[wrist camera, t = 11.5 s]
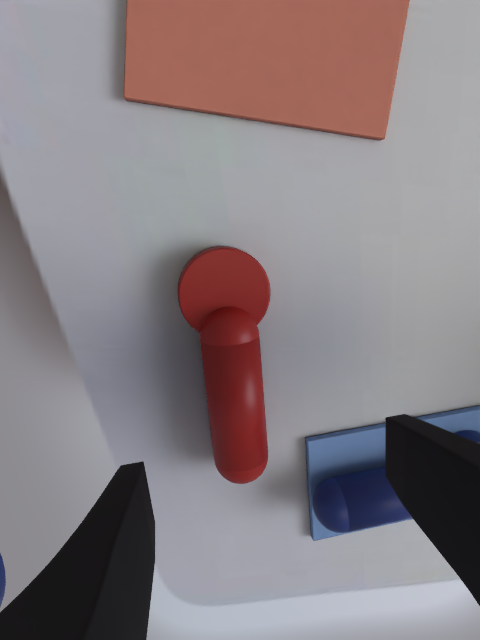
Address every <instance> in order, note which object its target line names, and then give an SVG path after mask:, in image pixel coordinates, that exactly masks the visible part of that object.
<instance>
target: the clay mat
mask: <svg viewBox="0 0 480 640" xmlns="http://www.w3.org/2000/svg"><path fill="white" fill-rule="evenodd" d="M408 6H409V0H127V7H126V41H125V74H124V98H125V100H127V101H133V102H140V103H146V104H152V105H159V106H165V107H171V108H178V109H184V110H191V111H197V112H203V113H210V114H216V115H222V116H229V117H235V118H241V119H248V120H254V121H261V122H267V123H273V124H280V125H286V126H292V127H299V128H305V129H311V130H318V131H324V132H330V133H337V134H343V135H350V136H356V137H362V138H369V139H375V140H383V139H385V136H386V130H387V125H388V119H389V113H390V108H391V102H392V96H393V91H394V85H395V79H396V74H397V68H398V62H399V57H400V51H401V45H402V40H403V34H404V29H405V23H406V17H407V12H408Z"/></svg>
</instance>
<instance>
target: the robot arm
mask: <svg viewBox="0 0 480 640" xmlns="http://www.w3.org/2000/svg"><path fill="white" fill-rule="evenodd" d="M385 476H386V478H387V479H388V481H389V483H390V485H391V486H392V488H393V490H394V492H395V493H396V495H397V496H398V498H399V500H400V501H401V503H402V504H403V506H404V507H405V509H406V510H407V511H408V513H409V514H410V515H411V516H412V518H413V519H414V520H415V522H416V523H417V524H418V525H419V527H420V528H421V529H422V531H423V532H424V533H425V534H426V536H427V537H428V538H429V539H430V541H431V542H432V543H433V544H434V546H435V547H436V548H437V549H438V551H439V552H440V553H441V554H442V556H443V557H444V558H445V559H446V561H447V562H448V563H449V564H450V566H451V567H452V568H453V570H454V571H455V572H456V573H457V575H458V576H459V577H460V579H461V580H462V581H463V582H464V584H465V585H466V587H467V588H468V589H469V591H470V592H471V593H472V595H473V597H474V598H475V600H476V601H477V603H478V604H479V605H480V443H477V442H474V441H472V440H469V439H467V438H464V437H462V436H460V435H457V434H455V433H452V432H450V431H447V430H445V429H442V428H440V427H438V426H435V425H433V424H430V423H428V422H425V421H423V420H420V419H417V418H415V417H412V416H409V415H405V414H403V415H397V416H392V417H386V432H385ZM154 564H155V520H154V515H153V509H152V504H151V499H150V493H149V488H148V483H147V478H146V472H145V467H144V462H138V463H132V464H127V465H121V466H120V468H119V469H118V470H117V472H116V473H115V475H114V476H113V478H112V479H111V481H110V482H109V484H108V485H107V487H106V488H105V490H104V491H103V493H102V494H101V496H100V498H99V499H98V500H97V502H96V503H95V505H94V506H93V507H92V509H91V510H90V512H89V513H88V514H87V516H86V517H85V519H84V520H83V521H82V523H81V524H80V525H79V527H78V528H77V529H76V531H75V532H74V533H73V534H72V536H71V537H70V538H69V539H68V541H67V542H66V543H65V544H64V546H63V547H62V548H61V550H60V551H59V552H58V553H57V554H56V556H55V557H54V558H53V559H52V560H51V561H50V563H49V564H48V565H47V566H46V567H45V568H44V569H43V570H42V571H41V573H40V574H39V575H38V576H37V577H36V578H35V579H34V580H33V581H32V582H31V583H30V584H29V586H27V587H26V588H25V589H24V590H23V591H22V592H21V593H20V594H19V595H18V596H17V597H16V598H15V599H14V600H13V601H12V602H11V603H10V604H9V605H8V606H7V607H6V608H4V609H3V610H2V611H1V612H0V640H146V636H147V627H148V618H149V609H150V600H151V592H152V582H153V573H154Z"/></svg>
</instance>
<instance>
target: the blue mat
mask: <svg viewBox="0 0 480 640" xmlns="http://www.w3.org/2000/svg"><path fill="white" fill-rule="evenodd" d="M415 418H417V419H420V420H423V421H425V422H428V423H430V424H433V425H435V426H438V427H440V428H442V429H445V430H447V431H450V432H452V433H456V432H459V431H464V430H471V431H476V432H479V433H480V406H475V407H470V408H464V409H459V410H453V411H448V412H443V413H437V414H432V415H426V416H421V417H415ZM385 432H386V423H383V424H378V425H372V426H367V427H361V428H356V429H350V430H345V431H340V432H334V433H329V434H323V435H318V436H312V437H307V438H306V456H307V473H308V490H309V507H310V524H311V537H312V539H313V541H315V540H320V539H324V538H329V537H333V536H338V535H342V534H347V533H351V532H347V533H336V532H333V531H330V530H328V529H327V528H325V527H324V526H323V525H322V524H321V523H320V522H319V520H318V519H317V518H316V515H315V513H314V510H313V502H312V500H313V494H314V492H315V489H316V488H317V486H318V485H319V484H320V483H321V482H322V481H324V480H325V479H328V478H331V477H336V476H341V475H346V474H351V473H356V472H361V471H366V470H371V469H376V468H381V467H385ZM411 519H413V518H411ZM406 520H410V519H406ZM402 521H405V520H402ZM397 522H401V521H397ZM393 523H396V522H393ZM388 524H392V523H388ZM383 525H387V524H383ZM383 525H379V526H383ZM374 527H378V526H374ZM374 527H370V528H374ZM365 529H369V528H365ZM365 529H361V530H365ZM356 531H360V530H356ZM356 531H352V532H356Z"/></svg>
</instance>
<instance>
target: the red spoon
mask: <svg viewBox="0 0 480 640" xmlns="http://www.w3.org/2000/svg"><path fill="white" fill-rule="evenodd" d="M178 300H179V305H180V309H181V312H182V314H183V316H184V318H185V319H186V321H187V322H188V323H189V324H190V325H191V326H192V327H193V328H194V329H195V330H196V331H198V332H199V333H200V344H201V352H202V361H203V369H204V378H205V386H206V395H207V403H208V412H209V420H210V429H211V437H212V446H213V454H214V461H215V465H216V467H217V469H218V471H219V472H220V474H221V475H222V476H223V477H224V478H225V479H227V480H228V481H230V482H233V483H238V484H244V483H249V482H251V481H254V480H255V479H257V478H258V477H259V476H260V475H261V474H262V473H263V471H264V469H265V467H266V465H267V461H268V446H267V432H266V419H265V406H264V392H263V379H262V366H261V353H260V339H259V330H258V327H257V324H258V323H259V322H260V321H261V320H262V318H263V317H264V315H265V313H266V311H267V308H268V305H269V301H270V284H269V280H268V277H267V275H266V272H265V271H264V269H263V267H262V266H261V265H260V263H259V262H258V261H257V260H256V259H255V258H253V257H252V256H251V255H249V254H247V253H245V252H243V251H241V250H239V249H236V248H233V247H228V246H216V247H211V248H208V249H205V250H203V251H201V252H199V253H198V254H196V255H195V256H194V257H193V258H191V259H190V261H189V262H188V263H187V264H186V266H185V267H184V269H183V271H182V273H181V275H180V278H179V283H178Z"/></svg>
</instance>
